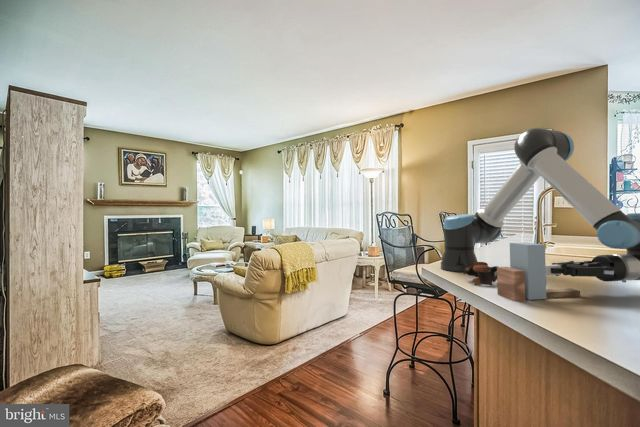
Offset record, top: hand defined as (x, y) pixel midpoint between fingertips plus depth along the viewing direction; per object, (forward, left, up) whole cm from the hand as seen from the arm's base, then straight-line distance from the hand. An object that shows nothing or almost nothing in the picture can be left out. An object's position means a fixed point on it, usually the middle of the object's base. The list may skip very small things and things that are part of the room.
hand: (537, 270), depth 86 cm
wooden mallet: (0, +1, -7) cm, 8 cm away
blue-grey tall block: (-1, -2, -7) cm, 8 cm away
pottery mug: (-19, +3, -8) cm, 21 cm away
